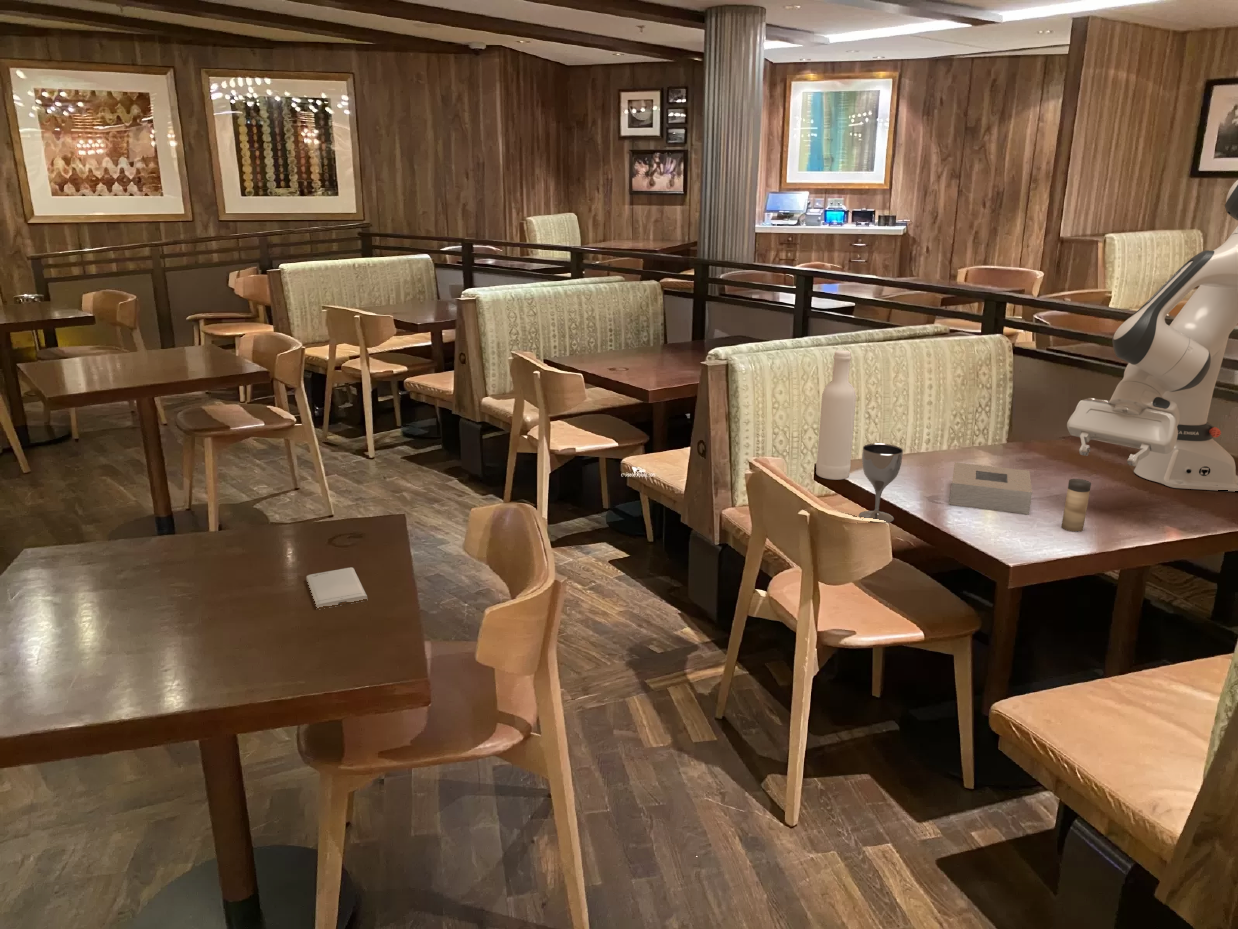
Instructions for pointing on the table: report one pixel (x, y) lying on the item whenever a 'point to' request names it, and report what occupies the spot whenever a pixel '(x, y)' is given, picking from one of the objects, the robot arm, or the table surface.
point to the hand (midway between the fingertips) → (1106, 458)
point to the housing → (991, 488)
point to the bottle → (836, 422)
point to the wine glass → (880, 472)
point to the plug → (1076, 504)
